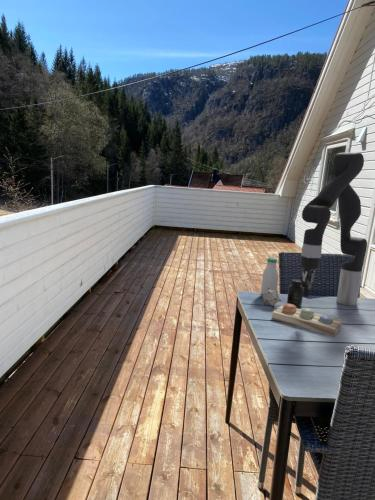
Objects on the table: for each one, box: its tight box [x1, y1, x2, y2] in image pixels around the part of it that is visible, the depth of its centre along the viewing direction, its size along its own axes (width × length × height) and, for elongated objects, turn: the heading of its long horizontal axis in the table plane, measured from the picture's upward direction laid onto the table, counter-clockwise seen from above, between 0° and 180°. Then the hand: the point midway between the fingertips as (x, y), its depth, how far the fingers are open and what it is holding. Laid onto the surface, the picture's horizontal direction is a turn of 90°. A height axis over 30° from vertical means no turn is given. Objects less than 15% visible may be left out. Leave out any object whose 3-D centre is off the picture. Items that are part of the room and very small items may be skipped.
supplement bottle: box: [286, 278, 303, 308], centre depth 161 cm, size 7×7×12 cm
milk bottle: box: [260, 257, 279, 298], centre depth 170 cm, size 8×8×20 cm
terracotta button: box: [282, 303, 297, 314], centre depth 144 cm, size 5×5×3 cm
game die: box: [259, 288, 282, 308], centre depth 158 cm, size 9×8×10 cm
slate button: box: [318, 314, 333, 324], centre depth 136 cm, size 5×5×3 cm
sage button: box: [300, 307, 315, 319], centre depth 140 cm, size 5×5×3 cm
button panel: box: [271, 304, 343, 337], centre depth 140 cm, size 12×25×3 cm, turn 54°
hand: (305, 296), depth 139 cm, fingers closed
